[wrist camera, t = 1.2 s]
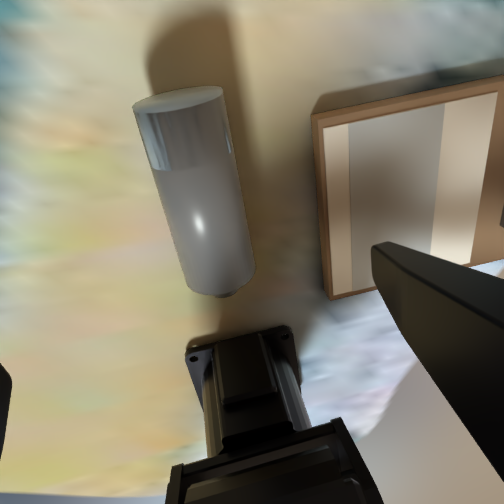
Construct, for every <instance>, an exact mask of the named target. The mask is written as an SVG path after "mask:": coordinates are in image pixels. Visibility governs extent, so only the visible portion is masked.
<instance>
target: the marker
mask: <svg viewBox="0 0 504 504" xmlns="http://www.w3.org/2000/svg"><path fill="white" fill-rule="evenodd" d="M132 108H133V112H134V115H135V118H136V121H137V124H138V128H139V131H140V134H141V137H142V141H143V144H144V147H145V150H146V154H147V157H148V160H149V163H150V167H151V170H152V173H153V176H154V180H155V183H156V186H157V189H158V193H159V196H160V199H161V202H162V206H163V209H164V212H165V215H166V219H167V222H168V225H169V228H170V232H171V235H172V238H173V241H174V244H175V248H176V251H177V254H178V257H179V261H180V264H181V267H182V270H183V274H184V277H185V280H186V283H187V286H188V287H189V288H190V289H191V290H193V291H194V292H196V293H199V294H204V295H213V296H215V297H218V298H225V297H229V296H231V295H233V294H235V293H236V292H237V290H238V288H240V287H242V286H243V285H245V284H246V283H247V282H249V281H250V279H251V278H252V277H253V275H254V273H255V270H256V266H255V261H254V255H253V250H252V245H251V239H250V234H249V229H248V223H247V218H246V212H245V207H244V202H243V196H242V191H241V185H240V180H239V175H238V169H237V164H236V159H235V153H234V148H233V142H232V137H231V132H230V126H229V121H228V116H227V110H226V105H225V99H224V94H223V89H222V87H219V86H198V87H190V88H184V89H178V90H173V91H169V92H165V93H161V94H157V95H154V96H151V97H148V98H145V99H143V100H141V101H139V102H137V103H135V104H134V105H133V106H132Z"/></svg>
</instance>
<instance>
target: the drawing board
mask: <svg viewBox="0 0 504 504" xmlns="http://www.w3.org/2000/svg"><path fill="white" fill-rule="evenodd" d="M311 126H312V139H313V152H314V165H315V178H316V191H317V204H318V217H319V231H320V244H321V257H322V270H323V283H324V291H325V293H326V295H327V297H328V298H329V300H330V301H332V300H336V299H340V298H344V297H348V296H352V295H356V294H361V293H365V292H369V291H373V290H377V287H376V285H375V283H374V281H373V277H372V269H371V247H372V246H373V245H375V244H378V243H382V242H386V241H390V242H393V243H396V244H399V245H402V246H405V247H408V248H411V249H414V250H417V251H420V252H423V253H426V254H429V255H432V256H435V257H438V258H441V259H444V260H447V261H450V262H453V263H456V264H459V265H462V266H465V267H472V266H476V265H480V264H485V263H489V262H493V261H497V260H501V259H504V75H499V76H494V77H489V78H485V79H480V80H475V81H470V82H466V83H461V84H456V85H451V86H446V87H442V88H437V89H432V90H427V91H423V92H418V93H413V94H408V95H403V96H399V97H394V98H389V99H384V100H380V101H375V102H370V103H365V104H360V105H356V106H351V107H346V108H341V109H337V110H332V111H327V112H322V113H317V114H313V115H311Z"/></svg>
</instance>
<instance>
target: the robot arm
mask: <svg viewBox="0 0 504 504" xmlns="http://www.w3.org/2000/svg"><path fill="white" fill-rule="evenodd" d="M371 269H372V277H373V281H374V283H375V285H376V287H377V289H378V291H379V293H380V295H381V296H382V298H383V300H384V302H385V304H386V306H387V308H388V310H389V312H390V314H391V315H392V317H393V319H394V321H395V323H396V325H397V327H398V329H399V330H400V332H401V334H402V335H403V337H404V339H405V340H406V342H407V343H408V345H409V346H410V347H411V349H412V350H413V352H414V353H415V355H416V356H417V358H418V359H419V360H420V362H421V363H422V365H423V366H424V368H425V369H426V371H427V372H428V373H429V375H430V376H431V378H432V379H433V381H434V382H435V384H436V385H437V386H438V388H439V389H440V391H441V392H442V394H443V395H444V396H445V398H446V399H447V401H448V402H449V404H450V405H451V407H452V408H453V410H454V411H455V413H456V414H457V415H458V417H459V418H460V419H461V421H462V423H463V424H464V426H465V427H466V428H467V430H468V431H469V433H470V434H471V436H472V437H473V438H474V440H475V441H476V443H477V444H478V446H479V447H480V449H481V450H482V451H483V453H484V454H485V456H486V457H487V459H488V460H489V462H490V463H491V465H492V466H493V467H494V469H495V470H496V472H497V473H498V475H499V476H500V477H501V479H502V480H503V482H504V279H501V278H498V277H495V276H492V275H489V274H486V273H483V272H480V271H477V270H474V269H471V268H468V267H465V266H462V265H459V264H456V263H453V262H450V261H447V260H444V259H441V258H438V257H435V256H432V255H429V254H426V253H423V252H420V251H417V250H414V249H411V248H408V247H405V246H402V245H399V244H396V243H393V242H390V241H386V242H382V243H378V244H375V245H373V246H372V247H371ZM286 333H287V334H286ZM282 334H286V335H282ZM192 356H196V357H192ZM185 362H186V365H187V367H188V370H189V373H190V376H191V379H192V381H193V384H194V387H195V390H196V392H197V395H198V398H199V401H200V404H201V406H202V409H203V412H204V421H205V433H206V445H207V456H208V458H206V459H203V460H199V461H196V462H192V463H189V464H186V465H184V464H183V463H182V464H179V465H175V466H172V469H171V476H170V483H168V487H167V494H166V500H165V504H384V503H383V500H382V497H381V495H380V493H379V491H378V488H377V486H376V484H375V482H374V480H373V478H372V476H371V474H370V472H369V470H368V468H367V466H366V465H365V463H364V461H363V459H362V457H361V455H360V453H359V451H358V449H357V447H356V445H355V443H354V441H353V439H352V438H351V436H350V434H349V432H348V430H347V428H346V426H345V424H344V422H343V420H342V418H341V417H338V418H335V419H332V420H330V421H331V422H328V423H325V424H321V425H318V426H315V427H312V425H311V422H310V420H309V417H308V414H307V411H306V408H305V405H304V402H303V399H302V396H301V387H300V380H299V373H298V366H297V359H296V351H295V344H294V337H293V333H292V330H291V328H290V327H289V326H281V327H276V328H272V329H268V330H264V331H260V332H256V333H252V334H248V335H244V336H240V337H236V338H231V339H227V340H223V341H219V342H215V343H211V344H207V345H203V346H199V347H195V348H191V349H188V350H187V351H186V353H185ZM11 390H12V379H11V377H10V375H9V373H8V372H7V371H6V370H5V368H4V367H3V366H2V365H1V363H0V459H1V454H2V450H3V444H4V439H5V432H6V425H7V418H8V411H9V404H10V397H11Z"/></svg>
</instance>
